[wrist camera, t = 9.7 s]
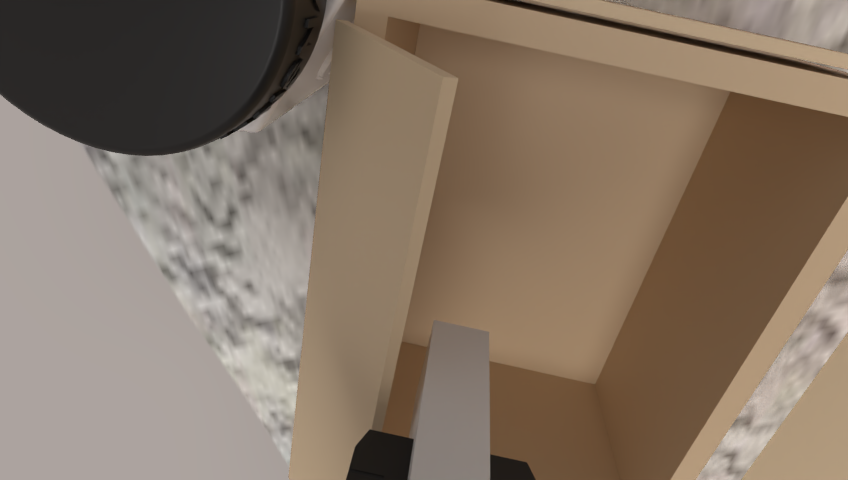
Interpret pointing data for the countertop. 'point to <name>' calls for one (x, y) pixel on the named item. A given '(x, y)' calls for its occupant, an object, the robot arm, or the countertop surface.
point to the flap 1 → (365, 241)
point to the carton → (620, 222)
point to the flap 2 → (812, 430)
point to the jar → (164, 66)
